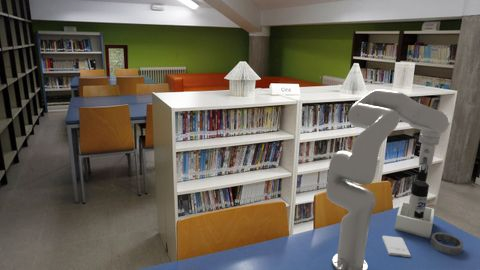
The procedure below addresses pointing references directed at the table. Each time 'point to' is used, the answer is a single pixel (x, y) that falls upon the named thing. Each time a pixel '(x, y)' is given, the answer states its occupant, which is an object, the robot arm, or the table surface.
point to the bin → (414, 221)
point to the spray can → (418, 200)
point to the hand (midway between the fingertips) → (421, 177)
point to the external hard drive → (396, 246)
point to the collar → (446, 248)
